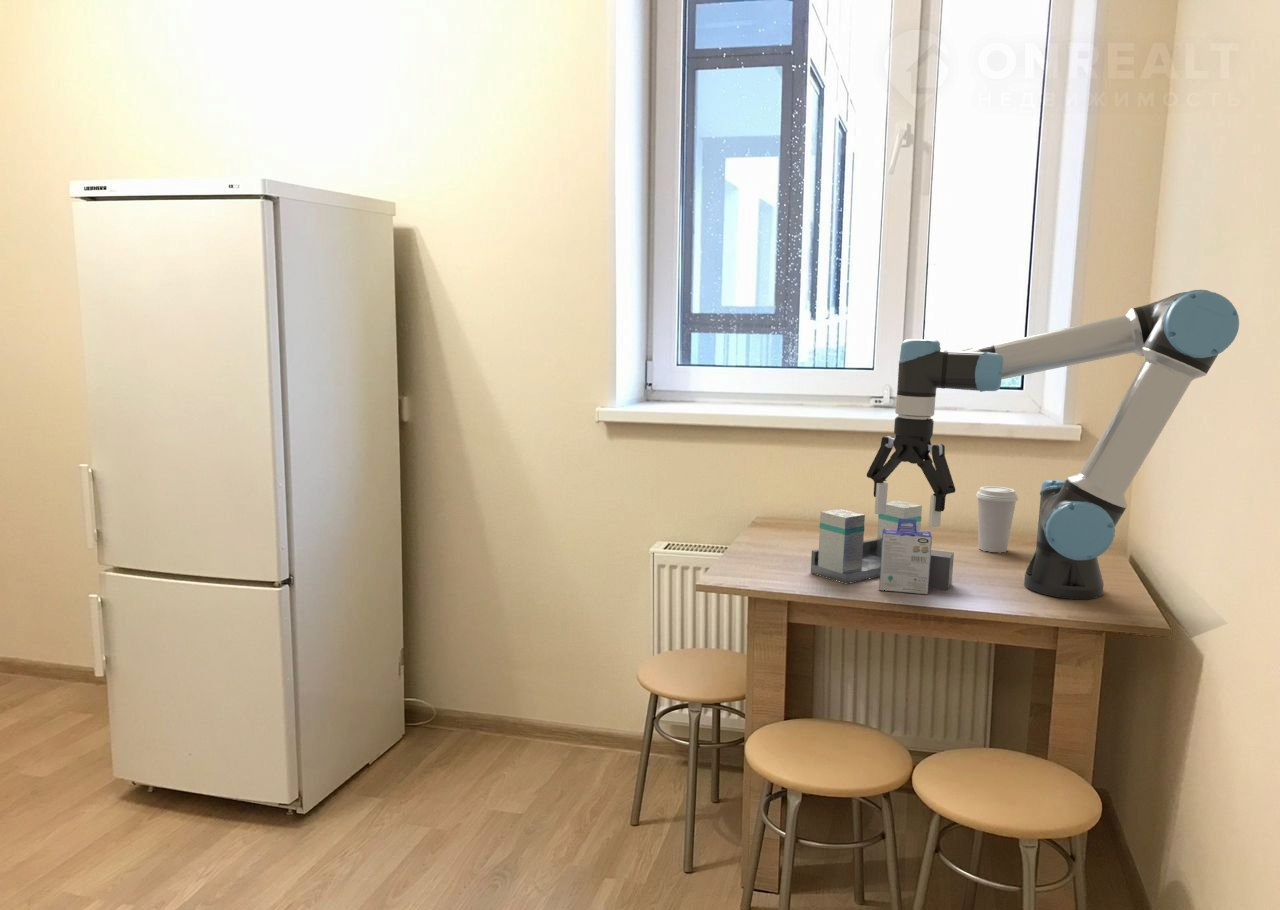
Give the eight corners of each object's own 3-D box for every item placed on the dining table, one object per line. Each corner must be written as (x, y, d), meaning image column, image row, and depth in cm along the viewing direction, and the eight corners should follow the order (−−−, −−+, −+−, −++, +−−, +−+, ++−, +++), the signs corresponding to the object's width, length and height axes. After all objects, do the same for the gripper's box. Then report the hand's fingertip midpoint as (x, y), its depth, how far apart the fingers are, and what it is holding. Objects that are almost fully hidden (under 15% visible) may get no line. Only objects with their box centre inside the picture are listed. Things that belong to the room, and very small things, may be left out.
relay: (947, 590, 196) (950, 557, 195) (913, 585, 199) (915, 553, 198) (951, 584, 201) (953, 552, 200) (917, 580, 204) (919, 548, 203)
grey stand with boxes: (921, 567, 214) (925, 506, 212) (845, 584, 199) (849, 518, 197) (886, 557, 222) (889, 498, 219) (810, 572, 207) (813, 510, 205)
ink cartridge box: (927, 587, 198) (932, 519, 196) (929, 595, 192) (934, 525, 190) (878, 583, 200) (882, 516, 198) (879, 591, 195) (883, 522, 192)
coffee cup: (984, 555, 226) (989, 493, 223) (964, 545, 235) (969, 485, 233) (1021, 554, 227) (1026, 492, 225) (1000, 544, 236) (1005, 485, 234)
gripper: (979, 423, 183) (970, 530, 186) (878, 409, 203) (870, 506, 206) (955, 424, 179) (946, 534, 182) (854, 410, 199) (847, 509, 202)
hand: (906, 520), depth 194 cm, fingers open, 13 cm apart
